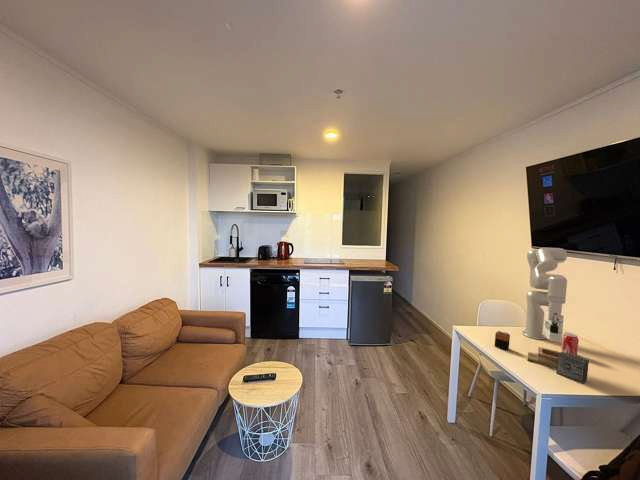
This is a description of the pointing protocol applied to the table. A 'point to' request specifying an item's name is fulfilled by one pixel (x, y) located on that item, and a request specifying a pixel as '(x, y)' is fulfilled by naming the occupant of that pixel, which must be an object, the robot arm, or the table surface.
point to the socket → (544, 357)
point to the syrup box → (553, 335)
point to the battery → (502, 340)
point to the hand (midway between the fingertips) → (553, 330)
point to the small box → (572, 367)
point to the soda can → (570, 343)
